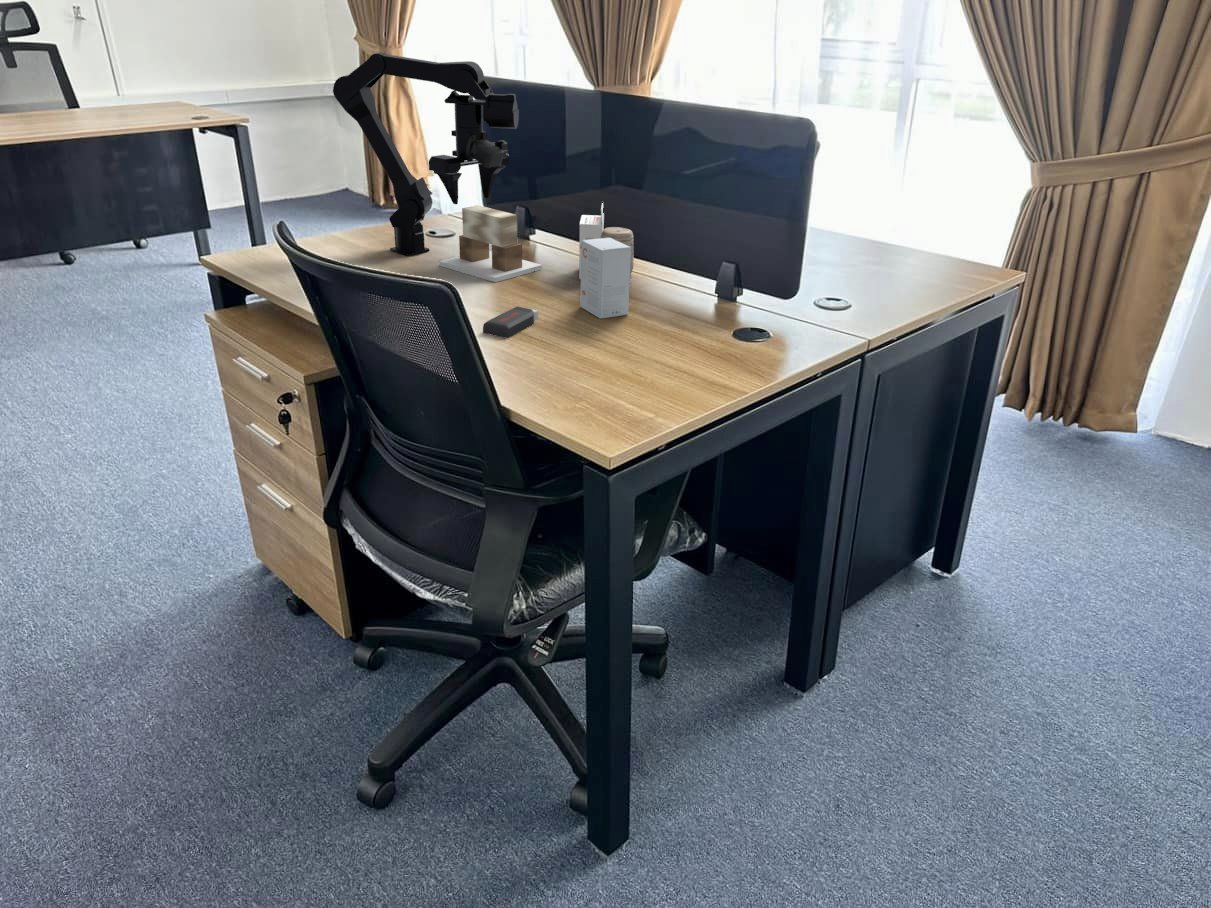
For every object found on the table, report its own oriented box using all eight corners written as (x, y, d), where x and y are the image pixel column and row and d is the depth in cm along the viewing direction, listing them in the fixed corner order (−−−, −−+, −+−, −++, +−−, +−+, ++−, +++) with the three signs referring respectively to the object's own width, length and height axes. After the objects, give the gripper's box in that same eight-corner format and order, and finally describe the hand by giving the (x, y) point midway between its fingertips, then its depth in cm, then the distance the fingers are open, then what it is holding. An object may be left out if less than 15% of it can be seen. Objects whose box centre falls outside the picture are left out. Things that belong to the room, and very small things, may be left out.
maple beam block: (463, 236, 202) (462, 208, 199) (478, 233, 205) (477, 205, 202) (501, 247, 195) (501, 218, 192) (517, 243, 198) (517, 215, 195)
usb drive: (482, 335, 166) (482, 320, 165) (518, 316, 176) (518, 302, 174) (507, 340, 164) (507, 325, 163) (542, 321, 174) (542, 307, 172)
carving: (638, 290, 192) (641, 231, 186) (605, 294, 188) (607, 234, 183) (623, 281, 197) (625, 224, 191) (591, 285, 193) (592, 227, 188)
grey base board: (439, 265, 203) (439, 261, 202) (486, 254, 212) (486, 249, 212) (495, 282, 193) (494, 277, 193) (541, 269, 203) (541, 264, 202)
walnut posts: (459, 258, 204) (459, 235, 202) (476, 254, 208) (476, 232, 206) (505, 271, 197) (505, 248, 194) (522, 267, 200) (522, 244, 198)
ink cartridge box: (579, 268, 205) (581, 199, 198) (602, 269, 205) (604, 200, 198) (577, 279, 197) (579, 208, 191) (601, 280, 197) (603, 209, 190)
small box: (628, 315, 177) (632, 246, 172) (599, 319, 175) (601, 250, 169) (607, 302, 184) (610, 236, 178) (579, 306, 181) (580, 239, 175)
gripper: (462, 135, 188) (464, 213, 195) (527, 127, 201) (527, 201, 208) (425, 128, 194) (429, 204, 201) (490, 121, 207) (492, 193, 214)
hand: (471, 201), depth 206 cm, fingers open, 9 cm apart
